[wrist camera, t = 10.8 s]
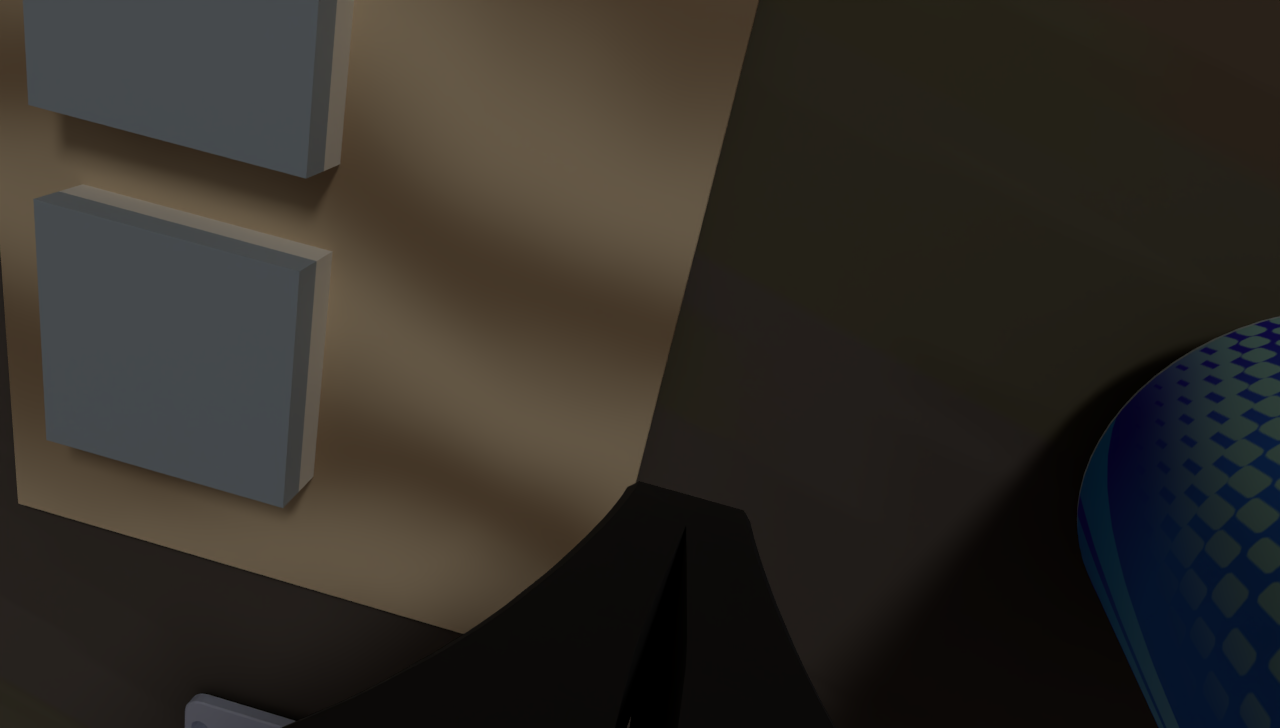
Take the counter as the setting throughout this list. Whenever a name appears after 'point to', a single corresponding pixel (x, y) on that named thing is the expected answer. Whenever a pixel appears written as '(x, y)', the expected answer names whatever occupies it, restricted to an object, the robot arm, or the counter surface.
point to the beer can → (1195, 533)
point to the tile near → (200, 73)
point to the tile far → (181, 342)
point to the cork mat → (427, 290)
